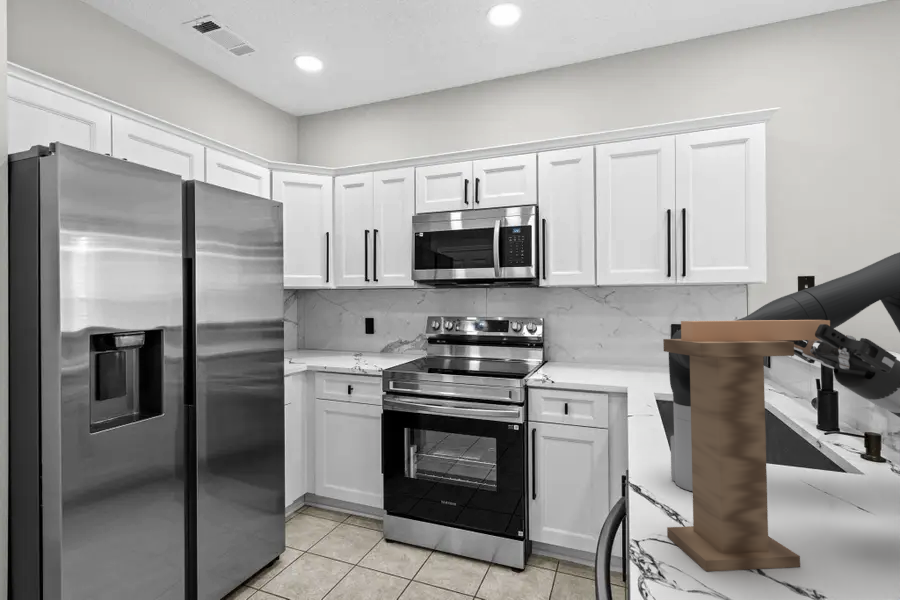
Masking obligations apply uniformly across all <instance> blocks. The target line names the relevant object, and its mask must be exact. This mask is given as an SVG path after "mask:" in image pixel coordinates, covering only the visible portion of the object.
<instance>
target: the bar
mask: <svg viewBox="0 0 900 600" xmlns="http://www.w3.org/2000/svg"><path fill="white" fill-rule="evenodd" d="M820 324H827V325H829V326H830V320H753V321H735V320H681V321H680V329H681V340H683V341H693V342H696V341H776V340H820V339H818V338H817V337H815V332H816V330H817V328H818V326H819V325H820Z"/></svg>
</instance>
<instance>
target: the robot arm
mask: <svg viewBox="0 0 900 600" xmlns="http://www.w3.org/2000/svg"><path fill="white" fill-rule="evenodd" d="M879 301H880V302H881V303H882V305H883V306H884V308H885V310H886V311H887V313H888V315H889V316H890V318H891V320H892V322H893V323H894V325H895V327H896V328H897V330H898V332H899V333H900V252H896V253H894V254H891V255H889V256H887V257H884V258H882V259H880V260H878V261H876V262H873V263H872V264H870V265H867V266H865V267H862V268H860V269H858V270H856V271H853V272H850V273H848V274H844V275H843V276H839V277H837V278H834V279H831V280H827V281H826V282H823V283H820V284H817V285H815V286H811V287H808V288H804V289H802V290H798V291H795V292H793V293H790V294H787V295H784V296H781V297H779V298H776V299H774V300H772V301H769V302H768V303H766V304H764V305H762V306H761V307H759V308H758V309H756V310H755V311H753V312H751V313H749V314H748V315H746V316H744V317H741V318H739V319H735V320H734V321H753V320H830V326H829V325H827V324H820V325H819V326H818V328H817V330H816V332H815V337H817V338H818V339H820V340H776V341H788V342H794V356H796V357H797V358H801V359H802V360H804V361H805V362H807V363H809V364H815V362H818V363H821V365H822V366H825V367H827V368H829V369H832V370H833V375H834V378H835V380H836V382H837V383H839V385H841V386H843V387H844V388H846V389H848V390H850V391H852V392H853V393H855V394H857V395H859V397H861V398H862V399H865V400H867V401H868V402H869V403H871V404H872V405H873V404H874V405H875V406H877V407H880V408H882V409H884V410H886V411H888V412H889V413H892V414H893V415H894V416H897V417H898V418H900V360H899V359H897V356H896V355H893V354H892V353H891V352H889V351H887V350H886V349H884V348H883V347H881V346H879V345H878V344H876V343H875V342H874V341H872V340H871V339H868V338H864V337H861V338H860V339H859V340H857V339H856V337H854V336H853V335H849V334H848V335H845V334H843V332H841V331H840V330H839V331H838V330H837V329H836V328H837V327H839V326H841V325H843V324H845V323H846V322H847V321H849V320H850V319H851V320H852V318H854V317H856V316H857V315H858V314H860V313H861V312H862V311H863V310H865V309H867V308H869V307H870V306H871V305H873V304H876V303H877V302H879ZM670 339H681V328H680V329H678V330H676V332H674V334H673V335H672V336H671V338H670ZM815 343H817V344H818V346H817V347H816V346H814V344H815ZM668 372H669V383H670V384H669V385H670V388H671V389H670V390H671V393H672V396H673V398H672V400H673V435H671V436H670V474H671V475H670V476H671V477H670V478H671V480H672V481H673V482H674V483H675V484H676V485H677V486H678V487H679V488H681V489H683V490H686V491H690V492H693V486H692V441H691V395H690V355H684V354H677V353H671V352H668Z"/></svg>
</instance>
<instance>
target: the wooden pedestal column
mask: <svg viewBox="0 0 900 600" xmlns="http://www.w3.org/2000/svg"><path fill="white" fill-rule="evenodd" d="M662 339H663V352H666V353H669V352H671V353H677V354H684V355H690V395H691V441H692V486H693V491H692V519H693V520H692V522H693V523H692V524H693V525H692V526H691V525H690V526H669V527H668V526H667V527H666V528H667V529H666V530H667V531H666V534H667V535H666V536H667V538H668V539H669V540H670V541H671V542H673V543H674V544H675V545H676V546H677V547H678V548H679V549H681V551H683V552H684V553H685V554H686V555H688V557H689V558H690V559H692V560H693V561H694V562H695V563H696V564H697V565H698V566H699V567H700V568H702V569H703V570H704V571H705V572H723V571H725V572H727V571H739V570H740V571H743V570H744V571H745V570H762V569H763V570H765V569H780V568H781V569H782V568H783V569H784V568H785V569H786V568H800V567H801V556H800V555H799V554H797V553H796V552H794V551H792V550H791V549H790V548H788V547H786V546H785V545H784V544H781V543H780V542H778V541H777V540H775V539H774V538H773V537H771V536H769V521H768V519H769V518H768V516H769V515H768V488H767V487H768V478H767V477H768V475H767V442H766V441H767V440H766V439H767V437H766V436H767V435H766V405H765V404H766V403H765V402H766V401H765V371H764V370H765V367H764V365H765V363H764V357H794V356H795V354H794V342H788V341H696V342H693V341H683V340H681V339H671V338H662Z"/></svg>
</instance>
